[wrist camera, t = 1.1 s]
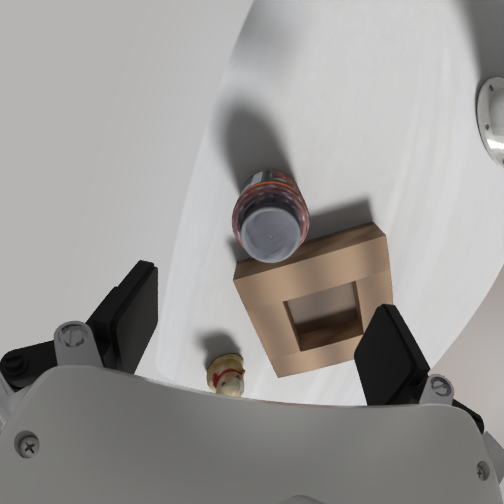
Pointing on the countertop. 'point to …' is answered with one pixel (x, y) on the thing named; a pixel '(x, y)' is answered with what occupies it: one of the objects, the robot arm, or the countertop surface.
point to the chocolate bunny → (226, 375)
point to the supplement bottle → (270, 217)
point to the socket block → (317, 298)
